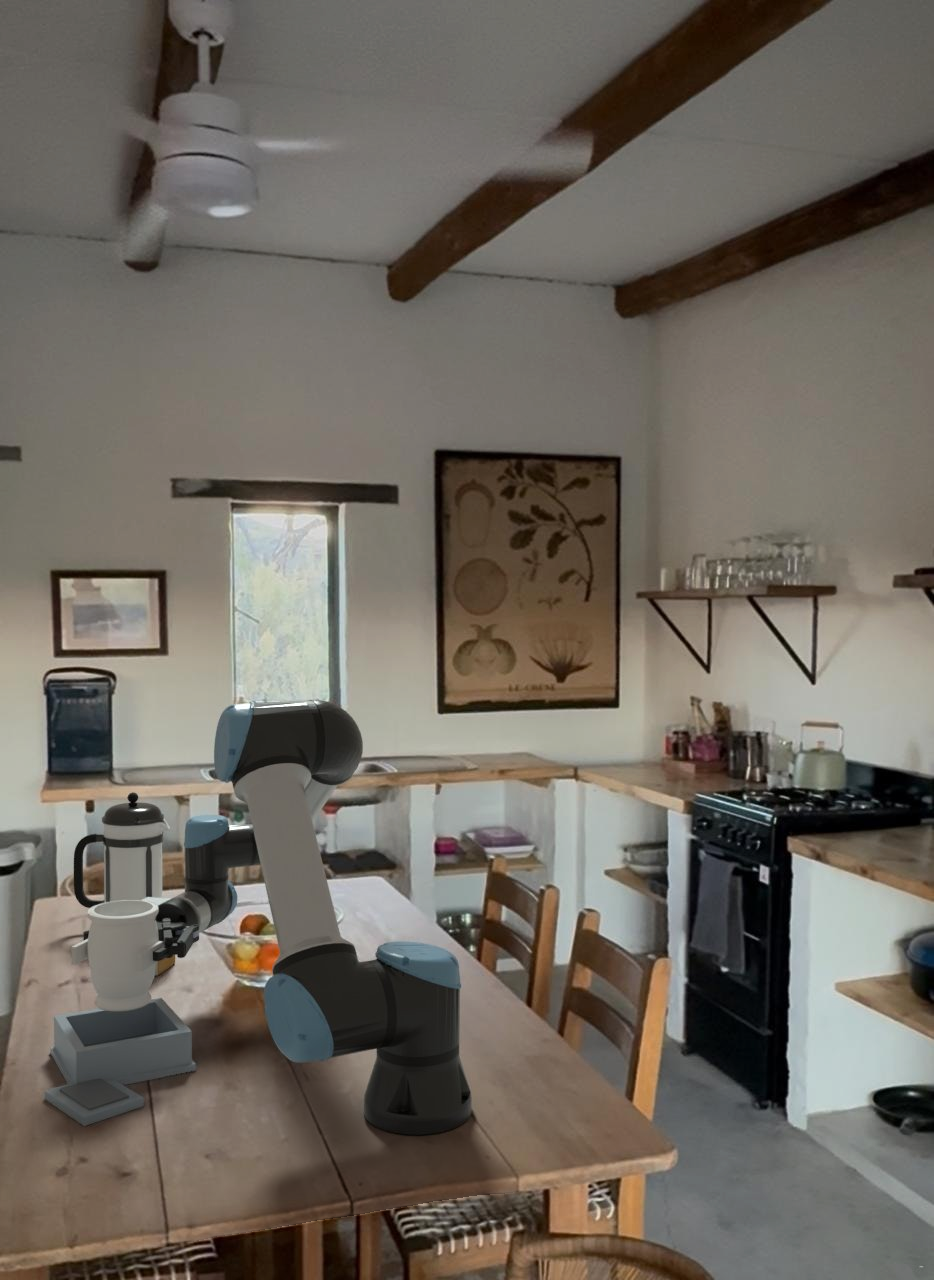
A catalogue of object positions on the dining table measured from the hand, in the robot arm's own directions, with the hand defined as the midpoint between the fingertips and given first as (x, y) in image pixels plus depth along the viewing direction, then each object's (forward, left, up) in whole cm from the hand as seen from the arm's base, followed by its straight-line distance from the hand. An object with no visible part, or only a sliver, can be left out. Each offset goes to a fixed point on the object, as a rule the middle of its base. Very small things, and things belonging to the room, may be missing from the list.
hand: (105, 959), depth 177 cm
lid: (-10, +4, -17) cm, 21 cm away
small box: (+46, -19, -17) cm, 53 cm away
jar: (+4, -3, -9) cm, 10 cm away
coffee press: (+74, -21, -17) cm, 79 cm away
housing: (+3, -3, -17) cm, 18 cm away
